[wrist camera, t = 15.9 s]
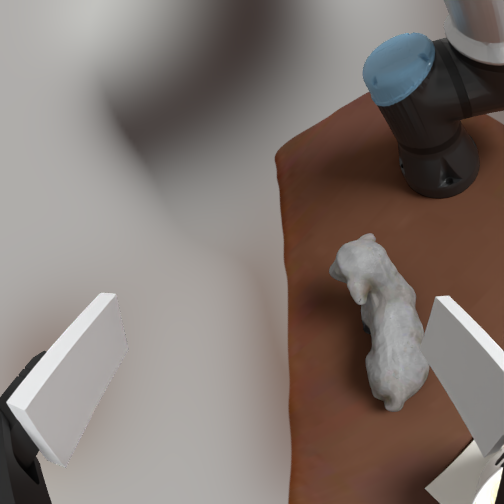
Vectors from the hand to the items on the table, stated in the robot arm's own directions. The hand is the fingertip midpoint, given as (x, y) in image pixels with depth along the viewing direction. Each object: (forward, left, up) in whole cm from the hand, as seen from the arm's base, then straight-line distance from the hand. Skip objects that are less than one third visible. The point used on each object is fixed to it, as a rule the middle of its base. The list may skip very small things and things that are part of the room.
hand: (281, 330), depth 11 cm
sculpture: (-2, -8, -33) cm, 34 cm away
